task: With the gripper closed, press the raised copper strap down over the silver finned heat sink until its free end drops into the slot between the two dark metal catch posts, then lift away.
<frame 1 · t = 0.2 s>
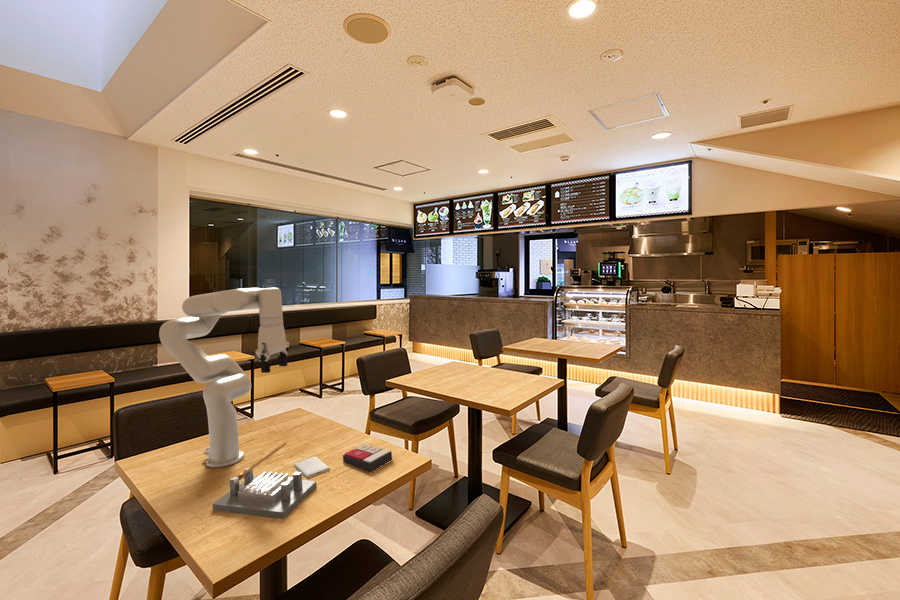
hand: (274, 369, 139), 36 cm above the table, tool pointing down, fingers open, 9 cm apart
hard drive: (312, 469, 139), on the table
heat sink: (266, 483, 120), on the grey mounting plate, point 5 cm above the table
retention strap: (260, 461, 120), point 12 cm above the table, hinge at 35.0°
grey mounting plate: (267, 498, 120), on the table
calculator: (367, 462, 143), on the table
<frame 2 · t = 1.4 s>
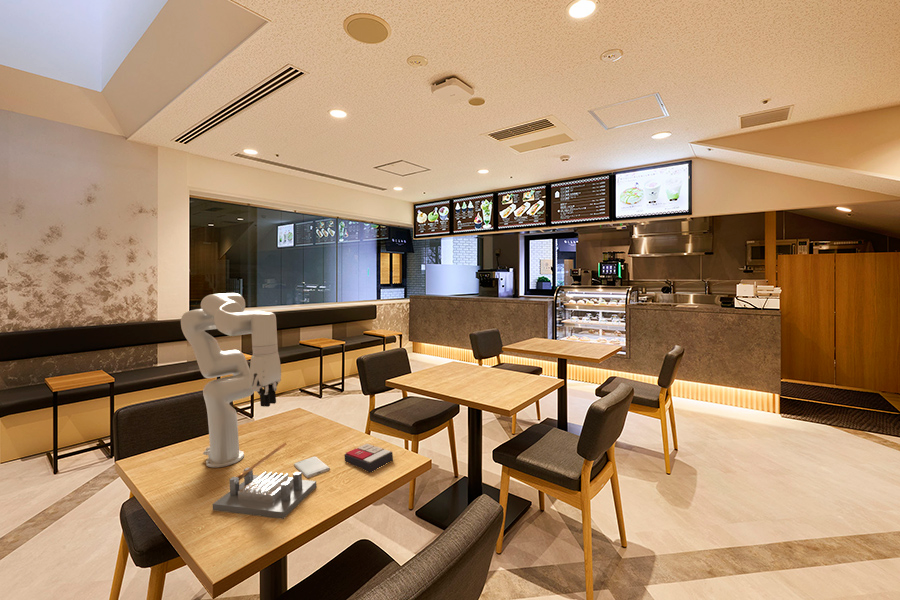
hand: (268, 404, 127), 27 cm above the table, tool pointing down, fingers closed
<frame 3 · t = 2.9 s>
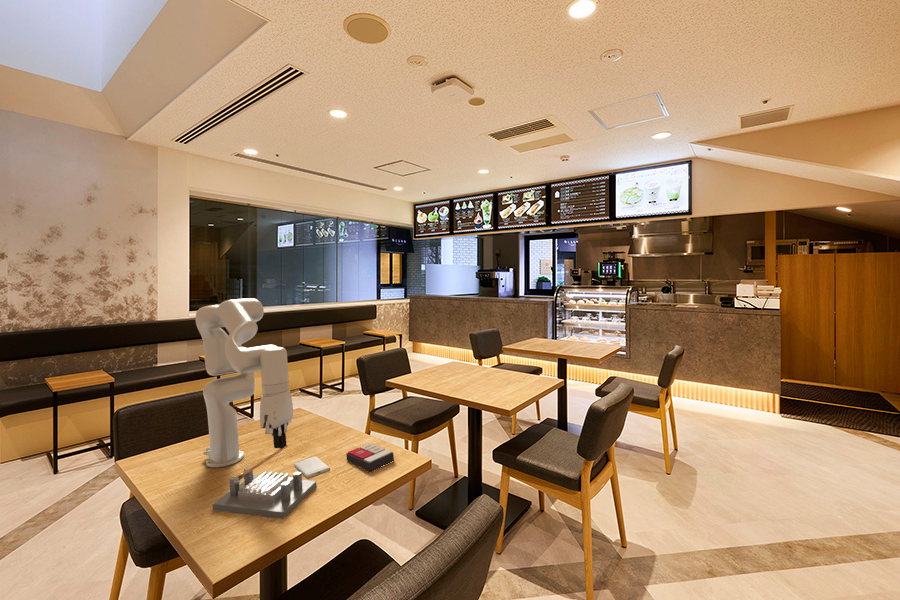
hand: (280, 447, 118), 17 cm above the table, tool pointing down, fingers closed
retention strap: (261, 462, 120), point 11 cm above the table, hinge at 32.6°, touching gripper
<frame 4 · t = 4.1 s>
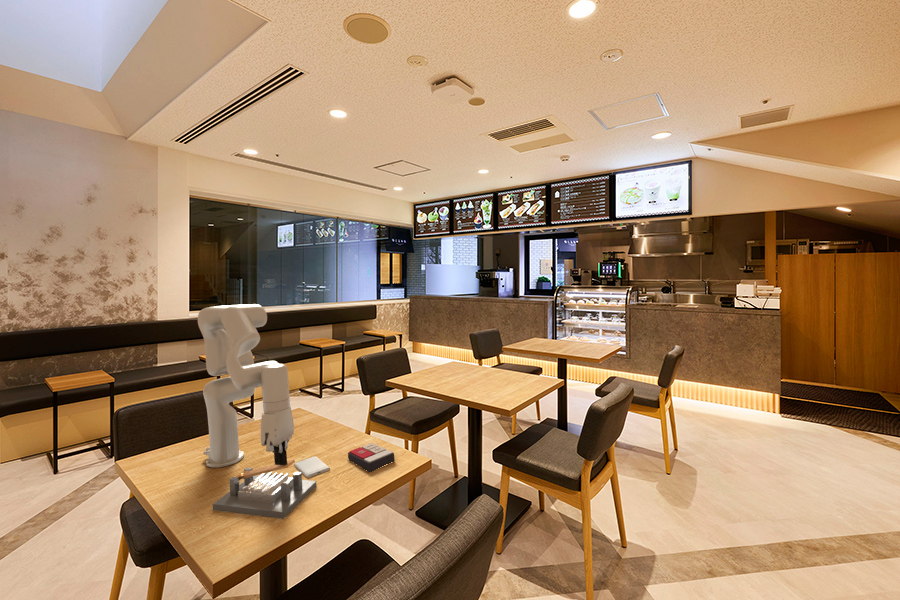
hand: (281, 463, 118), 12 cm above the table, tool pointing down, fingers closed
retention strap: (264, 470, 120), point 9 cm above the table, hinge at 16.8°, touching gripper
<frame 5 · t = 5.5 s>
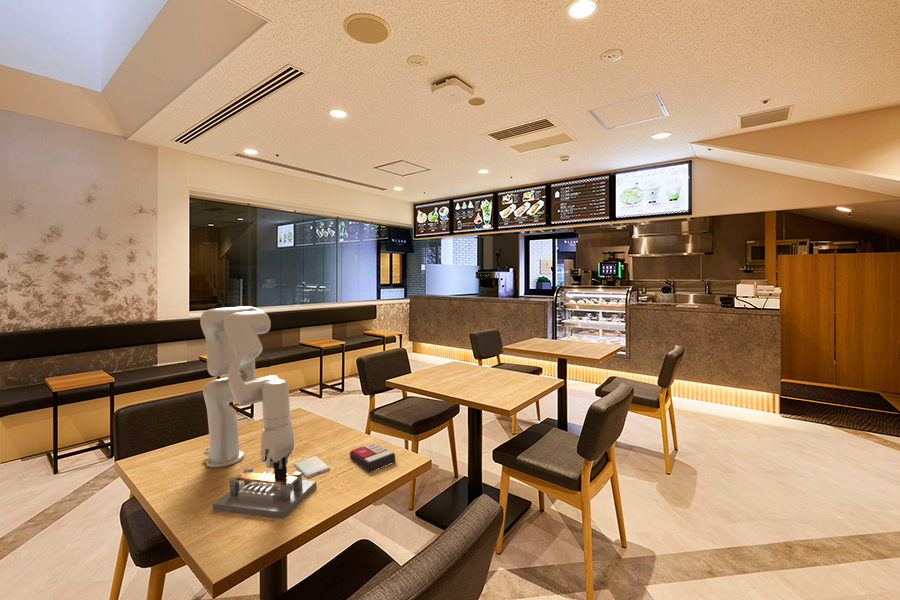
hand: (280, 479, 118), 7 cm above the table, tool pointing down, fingers closed
retention strap: (266, 478, 120), point 6 cm above the table, hinge at -0.1°, touching gripper
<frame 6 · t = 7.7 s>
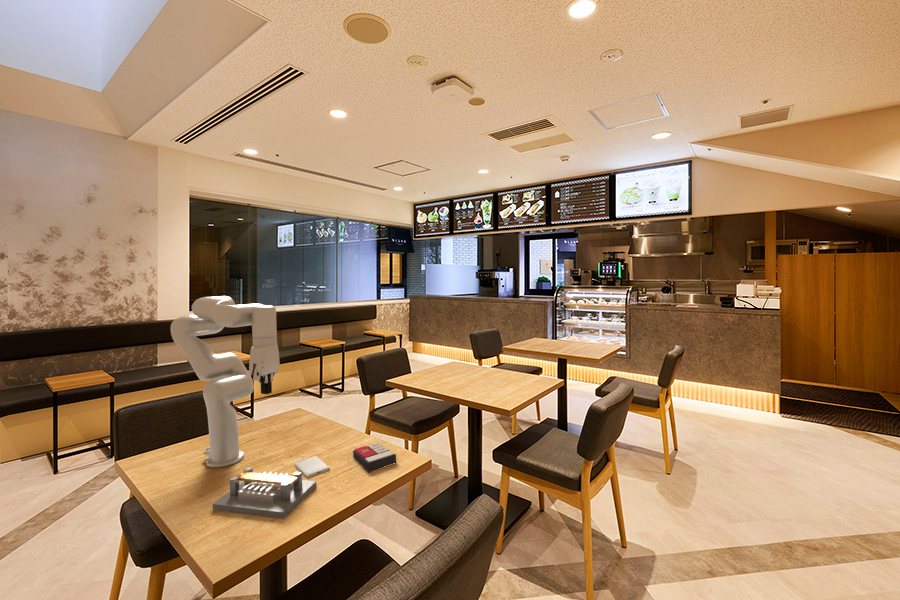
hand: (266, 393, 134), 29 cm above the table, tool pointing down, fingers closed
retention strap: (266, 478, 120), point 6 cm above the table, hinge at -0.1°
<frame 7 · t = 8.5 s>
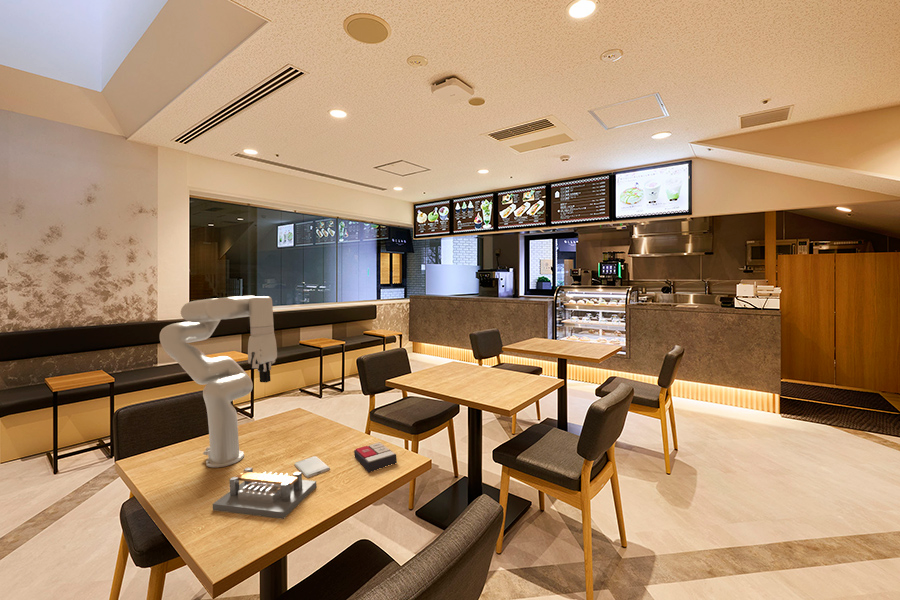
hand: (265, 381, 138), 32 cm above the table, tool pointing down, fingers closed
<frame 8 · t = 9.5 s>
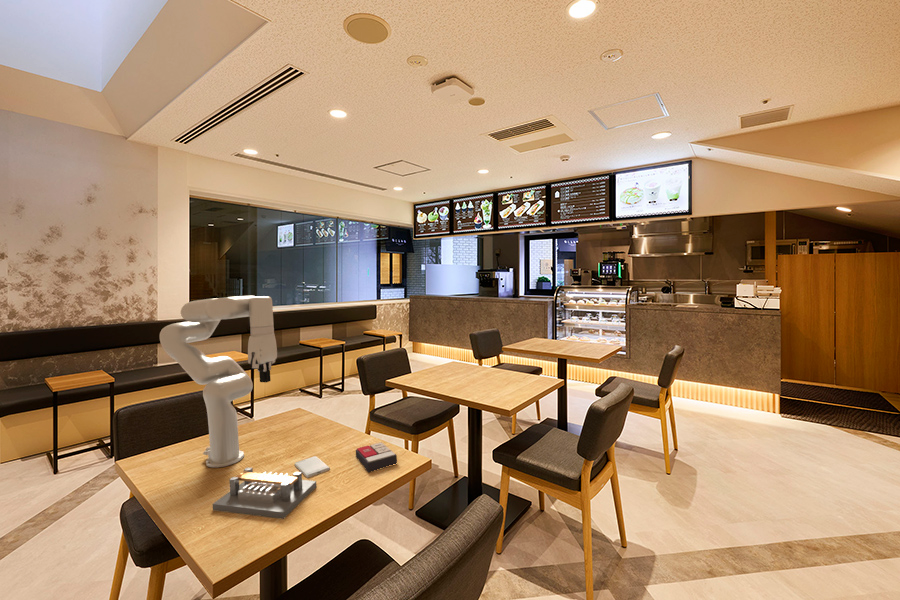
hand: (265, 381, 138), 32 cm above the table, tool pointing down, fingers closed
at the end: retention strap at +0° (first picture: +35°); hard drive moved 0.8 cm from its start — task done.
